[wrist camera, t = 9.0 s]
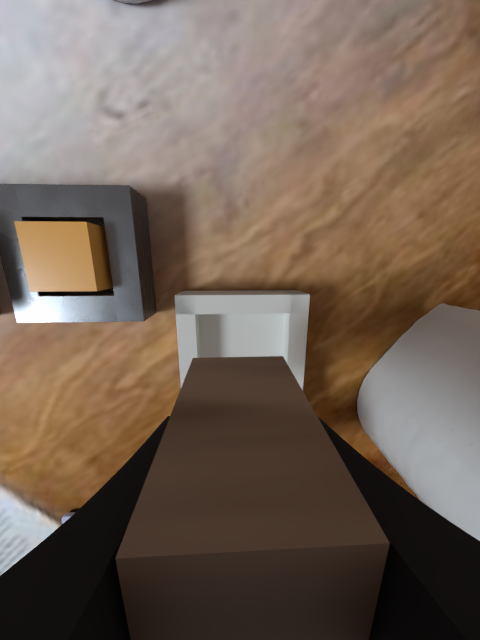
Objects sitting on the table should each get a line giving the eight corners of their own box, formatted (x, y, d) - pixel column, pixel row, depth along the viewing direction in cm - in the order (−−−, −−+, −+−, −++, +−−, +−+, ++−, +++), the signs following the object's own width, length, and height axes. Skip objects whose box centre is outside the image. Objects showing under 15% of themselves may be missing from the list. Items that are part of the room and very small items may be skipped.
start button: (121, 285, 16) (97, 291, 13) (67, 286, 15) (30, 291, 12) (114, 230, 15) (86, 221, 12) (57, 229, 14) (13, 221, 12)
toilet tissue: (389, 467, 21) (524, 641, 11) (324, 374, 18) (428, 497, 9) (495, 405, 20) (747, 540, 10) (442, 297, 17) (713, 339, 8)
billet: (279, 432, 11) (356, 695, 4) (197, 434, 11) (144, 713, 4) (282, 356, 10) (389, 543, 3) (193, 357, 10) (114, 558, 3)
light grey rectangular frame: (287, 463, 20) (295, 490, 18) (193, 467, 20) (188, 495, 18) (298, 290, 17) (310, 294, 14) (182, 290, 16) (174, 295, 14)
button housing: (156, 312, 17) (143, 321, 14) (48, 313, 16) (16, 322, 14) (145, 198, 15) (129, 185, 12) (24, 197, 14) (-18, 183, 12)
